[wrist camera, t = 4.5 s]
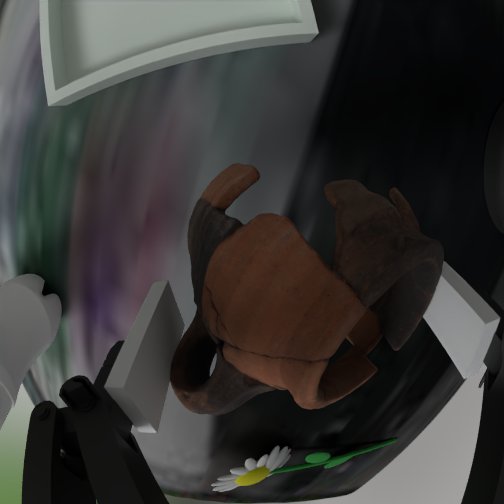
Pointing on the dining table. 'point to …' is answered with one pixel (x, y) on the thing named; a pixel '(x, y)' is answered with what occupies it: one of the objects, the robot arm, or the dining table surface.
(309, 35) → the tray
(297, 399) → the broken clay pot
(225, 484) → the decorative flower
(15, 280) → the water bottle
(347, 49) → the dining table surface
